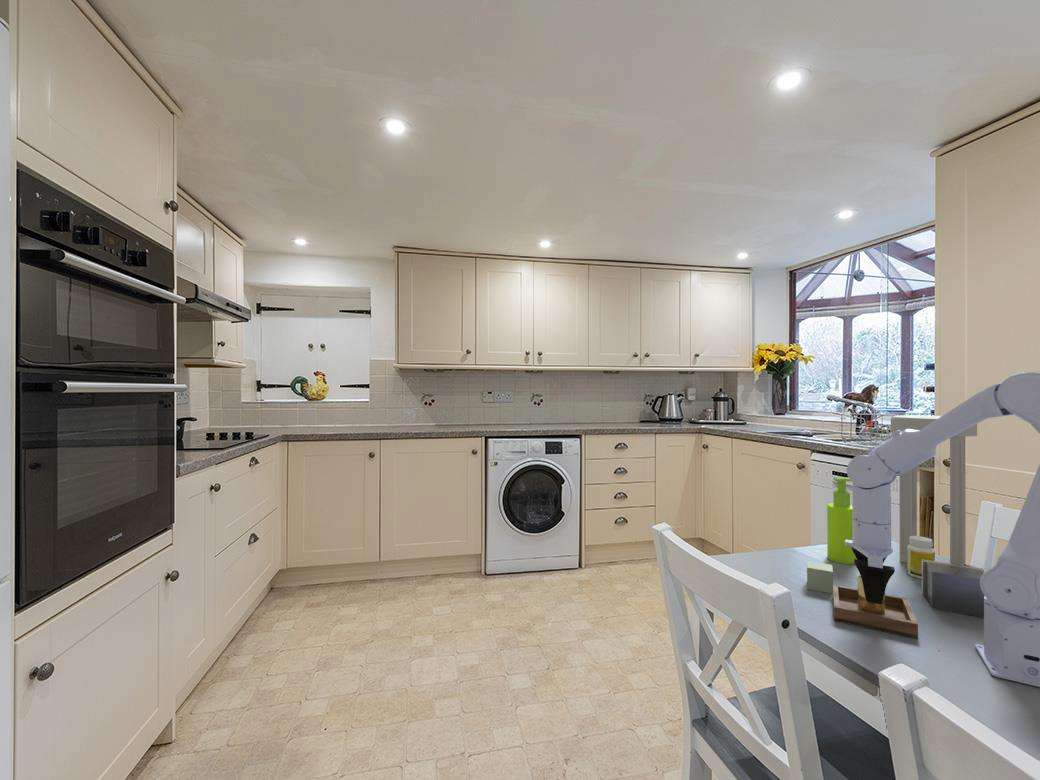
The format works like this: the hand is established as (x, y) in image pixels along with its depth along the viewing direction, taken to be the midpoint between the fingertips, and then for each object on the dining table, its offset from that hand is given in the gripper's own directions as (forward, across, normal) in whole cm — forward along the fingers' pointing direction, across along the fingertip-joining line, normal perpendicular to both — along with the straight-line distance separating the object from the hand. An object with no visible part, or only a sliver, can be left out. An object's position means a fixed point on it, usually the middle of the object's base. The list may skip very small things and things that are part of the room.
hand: (871, 594), depth 86 cm
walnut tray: (+4, 0, 0) cm, 4 cm away
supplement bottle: (+4, -29, +11) cm, 31 cm away
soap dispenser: (+4, -32, -3) cm, 32 cm away
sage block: (+4, -10, -8) cm, 13 cm away
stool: (+4, -42, +15) cm, 45 cm away
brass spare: (+3, 0, 0) cm, 3 cm away
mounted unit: (+4, -13, +14) cm, 19 cm away
